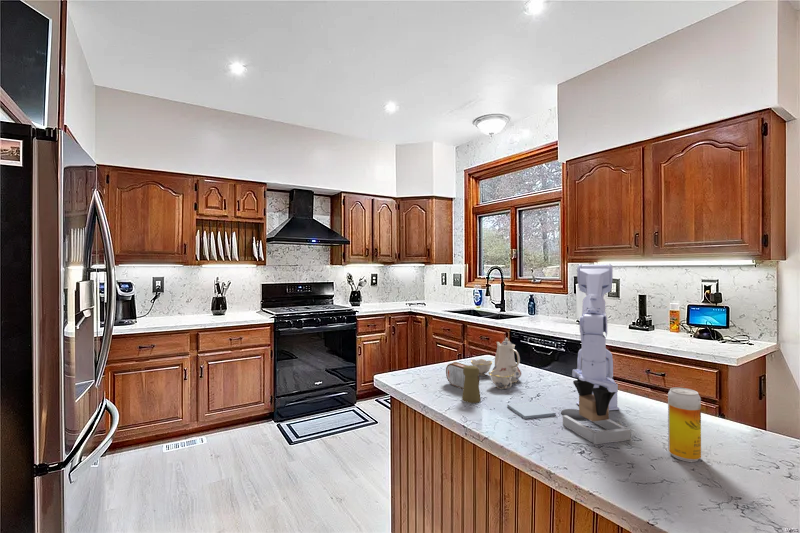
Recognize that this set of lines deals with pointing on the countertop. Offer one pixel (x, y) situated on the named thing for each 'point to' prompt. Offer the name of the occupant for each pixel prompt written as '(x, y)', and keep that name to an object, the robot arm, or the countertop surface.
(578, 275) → the robot arm
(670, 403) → the beer can
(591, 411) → the walnut cube
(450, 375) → the tin
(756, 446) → the countertop surface
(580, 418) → the hole mat
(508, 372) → the chinaware
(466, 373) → the olive waisted block
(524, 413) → the board
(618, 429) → the grey flat u-shaped piece
